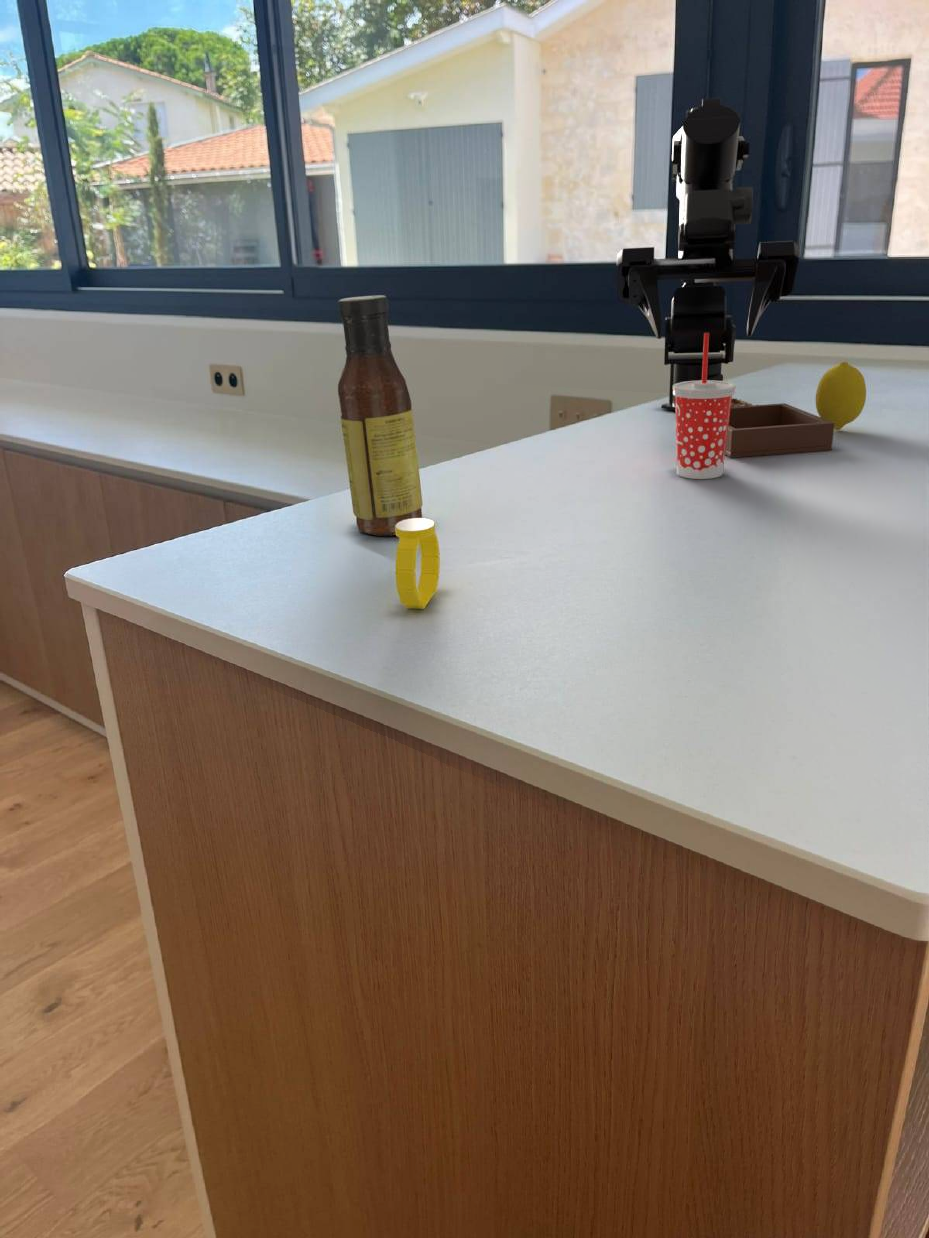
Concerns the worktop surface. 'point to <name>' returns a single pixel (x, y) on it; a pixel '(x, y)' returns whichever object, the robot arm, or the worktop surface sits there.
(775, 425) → the tray
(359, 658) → the worktop surface
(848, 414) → the lemon
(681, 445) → the beverage cup
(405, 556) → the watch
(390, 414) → the sauce bottle
